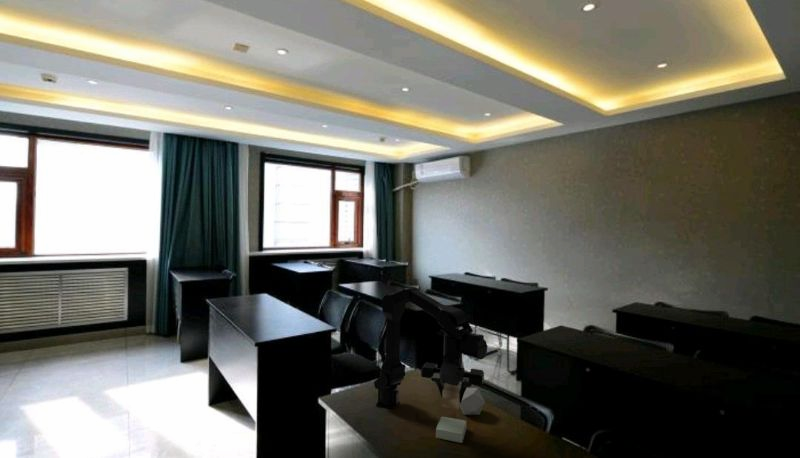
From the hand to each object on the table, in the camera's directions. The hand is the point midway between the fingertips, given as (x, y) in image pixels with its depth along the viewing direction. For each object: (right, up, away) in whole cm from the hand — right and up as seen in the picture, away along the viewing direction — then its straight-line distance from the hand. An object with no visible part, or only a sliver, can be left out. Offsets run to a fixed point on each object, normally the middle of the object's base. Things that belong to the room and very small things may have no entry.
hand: (451, 401), depth 116 cm
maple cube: (0, -1, 0) cm, 1 cm away
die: (+8, -10, +13) cm, 19 cm away
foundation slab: (0, -10, 0) cm, 10 cm away
